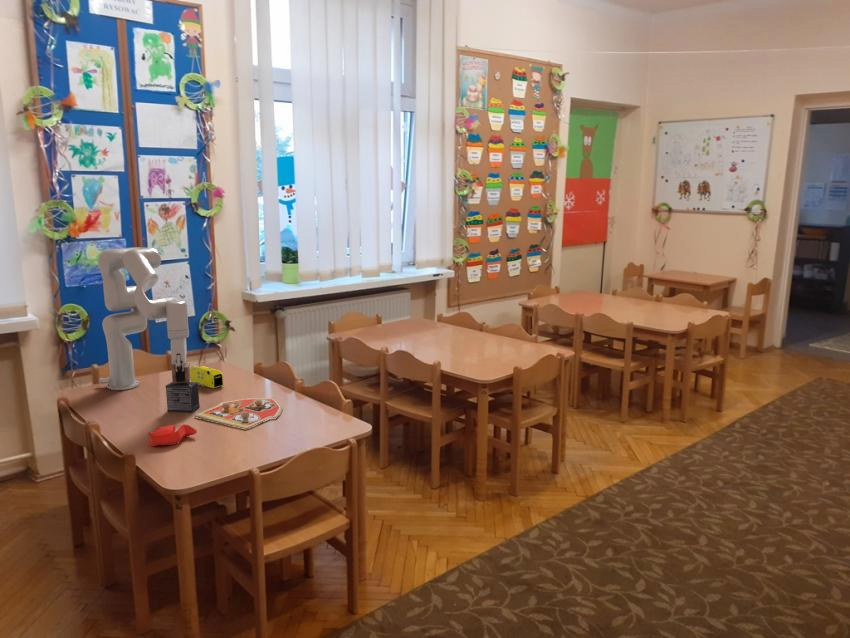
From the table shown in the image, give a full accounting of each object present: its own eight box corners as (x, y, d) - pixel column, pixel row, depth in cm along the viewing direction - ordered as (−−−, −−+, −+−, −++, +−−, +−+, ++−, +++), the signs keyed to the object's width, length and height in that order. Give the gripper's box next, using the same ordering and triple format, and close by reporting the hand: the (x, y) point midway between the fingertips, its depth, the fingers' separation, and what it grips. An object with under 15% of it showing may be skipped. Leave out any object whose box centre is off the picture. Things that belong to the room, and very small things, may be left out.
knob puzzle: (191, 418, 248) (190, 407, 247) (246, 396, 274) (245, 385, 273) (250, 433, 235) (250, 421, 234) (302, 407, 260) (302, 397, 259)
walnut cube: (172, 383, 250) (171, 368, 249) (174, 378, 256) (173, 363, 254) (189, 382, 252) (188, 367, 250) (190, 377, 257) (189, 362, 256)
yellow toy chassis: (190, 383, 288) (188, 365, 286) (201, 380, 293) (199, 362, 291) (213, 390, 279) (211, 371, 277) (224, 387, 283) (223, 368, 282)
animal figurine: (201, 439, 228) (201, 426, 227) (159, 451, 218) (158, 437, 217) (186, 430, 236) (185, 416, 235) (144, 441, 226) (143, 427, 224)
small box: (200, 407, 259) (198, 381, 257) (193, 412, 253) (191, 386, 250) (174, 405, 260) (172, 380, 258) (166, 411, 254) (164, 385, 251)
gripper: (169, 328, 257) (173, 373, 261) (165, 339, 241) (169, 386, 244) (190, 327, 259) (193, 371, 263) (187, 338, 243) (190, 384, 246)
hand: (181, 378), depth 254 cm, fingers closed on walnut cube, 5 cm apart
